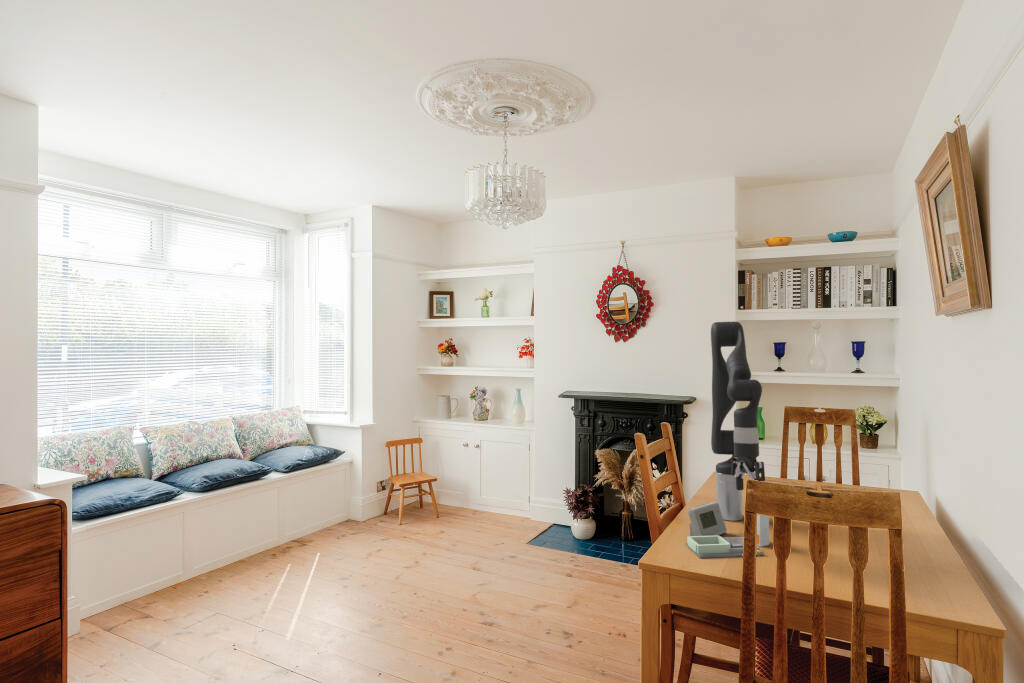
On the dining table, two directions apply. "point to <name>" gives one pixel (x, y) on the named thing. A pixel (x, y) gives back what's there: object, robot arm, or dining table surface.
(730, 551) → the grey green docking tray
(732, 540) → the cradle plate
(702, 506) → the digital clock
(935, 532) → the dining table surface
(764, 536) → the skincare box
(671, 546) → the dining table surface
